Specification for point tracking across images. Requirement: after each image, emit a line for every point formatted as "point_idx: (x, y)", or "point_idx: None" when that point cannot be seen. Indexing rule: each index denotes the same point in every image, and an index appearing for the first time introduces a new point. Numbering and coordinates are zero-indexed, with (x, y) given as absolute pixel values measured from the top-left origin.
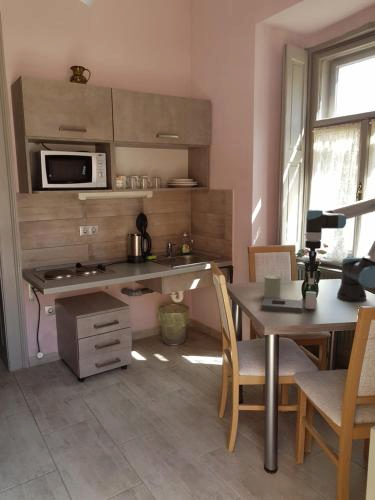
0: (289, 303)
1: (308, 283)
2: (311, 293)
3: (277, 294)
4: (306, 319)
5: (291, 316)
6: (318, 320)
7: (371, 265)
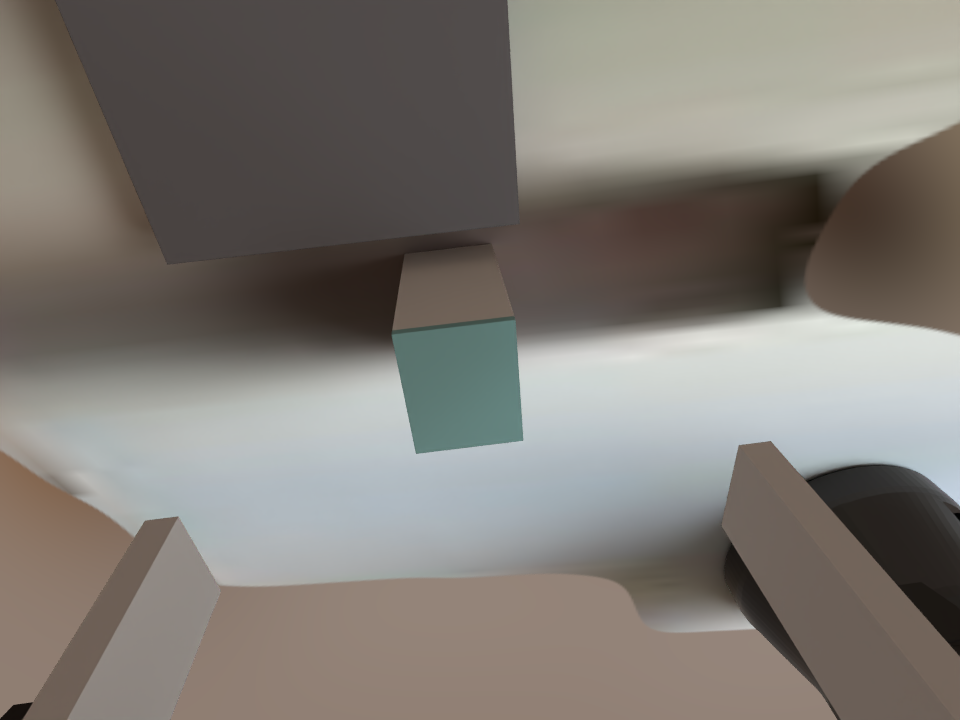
0: (290, 56)
1: (139, 536)
2: (409, 402)
3: None
4: (7, 314)
5: None
6: (68, 410)
7: None
